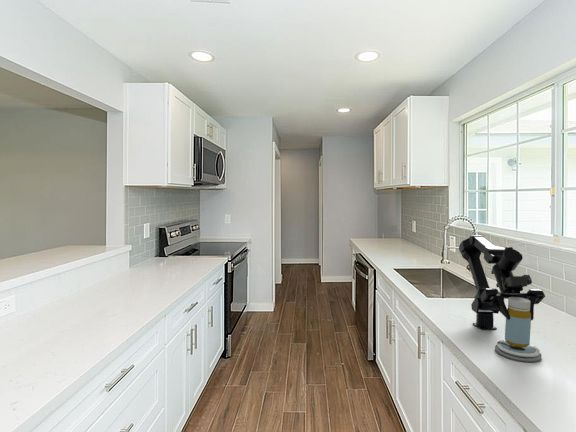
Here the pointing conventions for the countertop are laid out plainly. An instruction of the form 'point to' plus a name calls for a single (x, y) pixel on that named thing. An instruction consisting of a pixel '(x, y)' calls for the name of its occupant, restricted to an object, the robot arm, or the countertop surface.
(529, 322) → the bottle
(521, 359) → the turntable base
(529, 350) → the platter
